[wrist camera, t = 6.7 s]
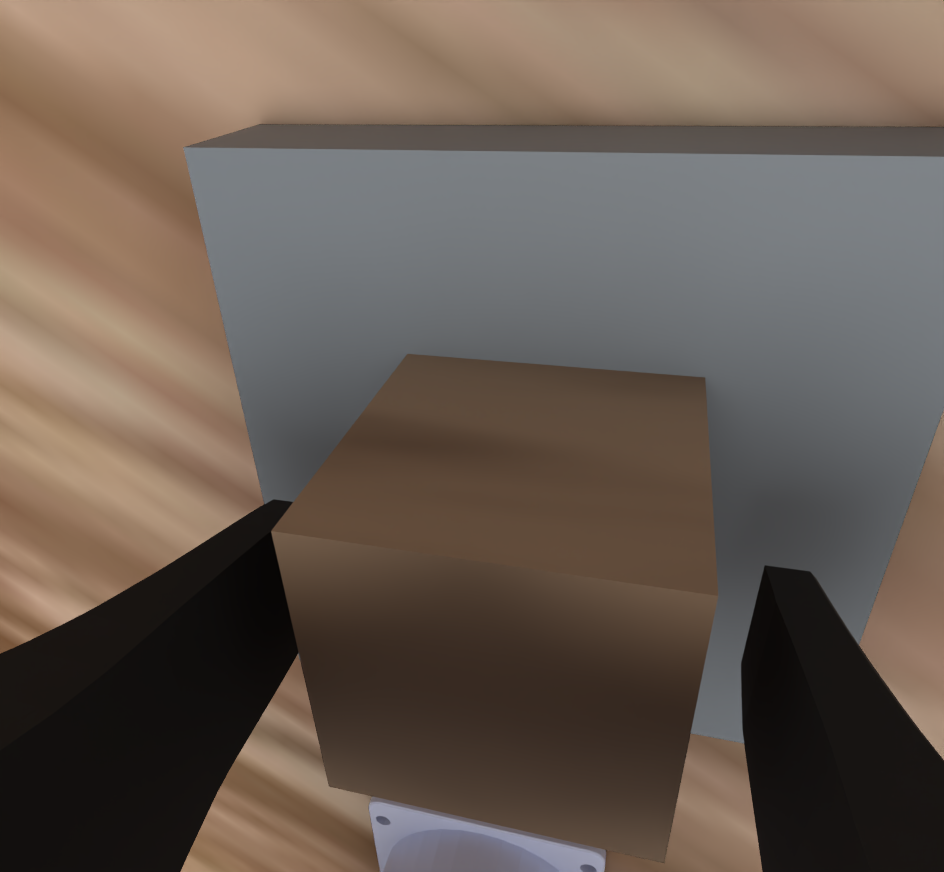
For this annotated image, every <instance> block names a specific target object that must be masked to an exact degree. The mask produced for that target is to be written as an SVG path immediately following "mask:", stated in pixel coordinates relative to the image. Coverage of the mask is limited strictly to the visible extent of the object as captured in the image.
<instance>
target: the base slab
mask: <svg viewBox="0 0 944 872" xmlns="http://www.w3.org/2000/svg"><path fill="white" fill-rule="evenodd" d="M183 148H184V152H185V156H186V161H187V165H188V170H189V174H190V179H191V183H192V187H193V192H194V196H195V201H196V205H197V209H198V214H199V218H200V223H201V227H202V231H203V236H204V240H205V245H206V249H207V253H208V258H209V262H210V267H211V271H212V276H213V280H214V284H215V289H216V293H217V298H218V302H219V306H220V311H221V315H222V320H223V324H224V328H225V333H226V337H227V342H228V346H229V350H230V355H231V359H232V364H233V368H234V372H235V377H236V381H237V386H238V390H239V395H240V399H241V403H242V408H243V412H244V417H245V421H246V425H247V430H248V434H249V439H250V443H251V447H252V452H253V456H254V461H255V465H256V469H257V474H258V478H259V483H260V487H261V492H262V496H263V500H264V504H266V503H268V502H270V501H271V500H273V499H275V500H283V501H290V502H294V501H295V499H296V498H297V497H298V495H299V494H300V493H301V492H302V490H303V489H304V488H305V486H306V485H307V484H308V482H309V481H310V480H311V479H312V477H313V476H314V475H315V473H316V472H317V471H318V469H319V468H320V467H321V466H322V464H323V463H324V462H325V460H326V459H327V458H328V456H329V455H330V454H331V453H332V451H333V450H334V449H335V447H336V446H337V445H338V443H339V442H340V441H341V440H342V438H343V437H344V436H345V434H346V433H347V432H348V430H349V429H350V428H351V427H352V425H353V424H354V423H355V421H356V420H357V419H358V417H359V416H360V415H361V414H362V412H363V411H364V410H365V408H366V407H367V406H368V404H369V403H370V402H371V401H372V399H373V398H374V397H375V395H376V394H377V393H378V391H379V390H380V389H381V388H382V386H383V385H384V384H385V382H386V381H387V380H388V378H389V377H390V376H391V375H392V373H393V372H394V371H395V369H396V368H397V367H398V365H399V364H400V363H401V362H402V360H403V359H404V358H405V356H406V355H407V354H416V355H428V356H441V357H454V358H466V359H479V360H491V361H504V362H517V363H529V364H542V365H554V366H567V367H580V368H592V369H605V370H617V371H630V372H643V373H655V374H668V375H680V376H693V377H705V383H706V399H707V416H708V432H709V449H710V466H711V482H712V499H713V516H714V532H715V549H716V565H717V582H718V600H717V605H716V610H715V615H714V620H713V625H712V630H711V635H710V640H709V645H708V650H707V654H706V659H705V664H704V669H703V674H702V679H701V684H700V689H699V694H698V699H697V704H696V709H695V714H694V719H693V724H692V729H691V733H692V734H697V735H702V736H708V737H713V738H718V739H724V740H729V741H734V742H740V743H744V737H743V730H742V698H741V661H742V657H743V653H744V648H745V644H746V640H747V636H748V632H749V628H750V624H751V619H752V615H753V611H754V607H755V603H756V599H757V595H758V591H759V586H760V582H761V578H762V574H763V570H764V566H765V565H767V566H774V567H782V568H789V569H797V570H804V571H810V572H811V573H812V574H813V575H814V576H815V578H816V579H817V580H818V582H819V584H820V585H821V587H822V589H823V590H824V592H825V593H826V595H827V597H828V598H829V600H830V601H831V603H832V605H833V606H834V608H835V609H836V611H837V613H838V614H839V616H840V617H841V619H842V620H843V622H844V624H845V625H846V627H847V628H848V630H849V631H850V633H851V634H852V636H853V637H854V639H855V640H856V642H857V643H858V645H859V643H860V640H861V637H862V635H863V632H864V629H865V626H866V624H867V621H868V618H869V615H870V612H871V610H872V607H873V604H874V601H875V599H876V596H877V593H878V590H879V587H880V585H881V582H882V579H883V576H884V574H885V571H886V568H887V565H888V563H889V560H890V557H891V554H892V551H893V549H894V546H895V543H896V540H897V538H898V535H899V532H900V529H901V526H902V524H903V521H904V518H905V515H906V513H907V510H908V507H909V504H910V501H911V499H912V496H913V493H914V490H915V488H916V485H917V482H918V479H919V477H920V474H921V471H922V468H923V465H924V463H925V460H926V457H927V454H928V452H929V449H930V446H931V443H932V440H933V438H934V435H935V432H936V429H937V427H938V424H939V421H940V418H941V415H942V413H943V410H944V127H786V126H529V125H271V124H259V125H256V126H253V127H249V128H246V129H243V130H239V131H236V132H233V133H229V134H226V135H223V136H220V137H216V138H213V139H210V140H206V141H203V142H200V143H196V144H193V145H190V146H187V147H183ZM298 655H299V653H298ZM299 659H300V656H299Z"/></svg>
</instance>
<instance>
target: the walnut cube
mask: <svg viewBox="0 0 944 872" xmlns="http://www.w3.org/2000/svg"><path fill="white" fill-rule="evenodd" d="M271 533H272V537H273V542H274V546H275V551H276V555H277V559H278V564H279V568H280V573H281V577H282V581H283V586H284V590H285V595H286V599H287V604H288V608H289V612H290V617H291V621H292V626H293V630H294V634H295V639H296V643H297V648H298V652H299V656H300V661H301V665H302V670H303V674H304V678H305V683H306V687H307V692H308V696H309V700H310V705H311V709H312V714H313V718H314V722H315V727H316V731H317V736H318V740H319V744H320V749H321V753H322V758H323V762H324V767H325V771H326V775H327V780H328V784H329V786H330V787H334V788H338V789H343V790H347V791H351V792H356V793H360V794H364V795H369V796H373V797H378V798H382V799H386V800H391V801H395V802H399V803H404V804H408V805H412V806H417V807H421V808H425V809H430V810H434V811H439V812H443V813H447V814H452V815H456V816H460V817H465V818H469V819H473V820H478V821H482V822H486V823H491V824H495V825H500V826H504V827H508V828H513V829H517V830H521V831H526V832H530V833H534V834H539V835H543V836H547V837H552V838H556V839H561V840H565V841H569V842H574V843H578V844H582V845H587V846H591V847H595V848H600V849H604V850H609V851H613V852H617V853H622V854H626V855H630V856H635V857H639V858H643V859H648V860H652V861H656V862H661V863H664V862H665V857H666V852H667V847H668V842H669V837H670V832H671V827H672V822H673V817H674V812H675V808H676V803H677V798H678V793H679V788H680V783H681V778H682V773H683V768H684V763H685V758H686V753H687V748H688V743H689V738H690V733H691V729H692V724H693V719H694V714H695V709H696V704H697V699H698V694H699V689H700V684H701V679H702V674H703V669H704V664H705V659H706V654H707V650H708V645H709V640H710V635H711V630H712V625H713V620H714V615H715V610H716V605H717V600H718V582H717V565H716V549H715V532H714V516H713V499H712V482H711V466H710V449H709V432H708V416H707V399H706V383H705V377H693V376H680V375H668V374H655V373H643V372H630V371H617V370H605V369H592V368H580V367H567V366H554V365H542V364H529V363H517V362H504V361H491V360H479V359H466V358H454V357H441V356H428V355H416V354H407V355H406V356H405V358H404V359H403V360H402V362H401V363H400V364H399V365H398V367H397V368H396V369H395V371H394V372H393V373H392V375H391V376H390V377H389V378H388V380H387V381H386V382H385V384H384V385H383V386H382V388H381V389H380V390H379V391H378V393H377V394H376V395H375V397H374V398H373V399H372V401H371V402H370V403H369V404H368V406H367V407H366V408H365V410H364V411H363V412H362V414H361V415H360V416H359V417H358V419H357V420H356V421H355V423H354V424H353V425H352V427H351V428H350V429H349V430H348V432H347V433H346V434H345V436H344V437H343V438H342V440H341V441H340V442H339V443H338V445H337V446H336V447H335V449H334V450H333V451H332V453H331V454H330V455H329V456H328V458H327V459H326V460H325V462H324V463H323V464H322V466H321V467H320V468H319V469H318V471H317V472H316V473H315V475H314V476H313V477H312V479H311V480H310V481H309V482H308V484H307V485H306V486H305V488H304V489H303V490H302V492H301V493H300V494H299V495H298V497H297V498H296V499H295V501H294V502H293V503H292V505H291V506H290V507H289V508H288V510H287V511H286V512H285V514H284V515H283V516H282V518H281V519H280V520H279V521H278V523H277V524H276V525H275V527H274V528H273V529H272V531H271Z"/></svg>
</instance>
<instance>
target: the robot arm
mask: <svg viewBox="0 0 944 872" xmlns="http://www.w3.org/2000/svg"><path fill="white" fill-rule="evenodd" d="M292 503H293V502H290V501H283V500H275V499H273V500H271V501H270V502H268V503H266V504H264V505H263V506H261V507H259V508H257V509H256V510H254V511H253V512H251V513H249V514H248V515H246V516H245V517H243V518H241V519H240V520H238V521H237V522H235V523H233V524H232V525H230V526H229V527H227V528H226V529H224V530H223V531H221V532H219V533H218V534H216V535H215V536H213V537H212V538H210V539H209V540H207V541H205V542H204V543H202V544H201V545H199V546H197V547H196V548H194V549H193V550H191V551H190V552H188V553H186V554H185V555H183V556H182V557H180V558H178V559H177V560H175V561H174V562H172V563H170V564H169V565H167V566H166V567H164V568H162V569H161V570H159V571H157V572H156V573H154V574H152V575H151V576H149V577H147V578H145V579H144V580H142V581H140V582H139V583H137V584H135V585H133V586H132V587H130V588H128V589H126V590H125V591H123V592H121V593H120V594H118V595H116V596H114V597H113V598H111V599H109V600H108V601H106V602H104V603H102V604H101V605H99V606H97V607H95V608H93V609H91V610H90V611H88V612H86V613H84V614H82V615H80V616H78V617H76V618H74V619H72V620H70V621H69V622H67V623H65V624H63V625H61V626H59V627H56V628H54V629H52V630H50V631H48V632H46V633H44V634H42V635H40V636H38V637H36V638H34V639H32V640H30V641H28V642H26V643H23V644H21V645H19V646H17V647H15V648H13V649H10V650H8V651H5V652H3V653H1V654H0V872H180V871H181V869H182V867H183V865H184V862H185V860H186V858H187V856H188V853H189V851H190V849H191V847H192V845H193V843H194V841H195V838H196V836H197V834H198V832H199V830H200V828H201V826H202V824H203V821H204V819H205V817H206V815H207V813H208V811H209V809H210V807H211V804H212V802H213V800H214V798H215V796H216V794H217V792H218V790H219V788H220V786H221V785H222V783H223V781H224V779H225V777H226V775H227V773H228V772H229V770H230V768H231V766H232V764H233V763H234V761H235V759H236V758H237V756H238V754H239V753H240V751H241V749H242V748H243V746H244V744H245V743H246V741H247V739H248V738H249V736H250V734H251V733H252V731H253V729H254V727H255V726H256V724H257V722H258V721H259V719H260V717H261V716H262V714H263V712H264V711H265V709H266V707H267V706H268V704H269V702H270V701H271V699H272V697H273V696H274V694H275V692H276V691H277V689H278V687H279V685H280V684H281V682H282V680H283V679H284V677H285V675H286V673H287V672H288V670H289V668H290V667H291V665H292V663H293V661H294V660H295V658H296V656H297V654H298V653H299V652H298V648H297V643H296V639H295V634H294V630H293V626H292V621H291V617H290V612H289V608H288V604H287V599H286V595H285V590H284V586H283V581H282V577H281V573H280V568H279V564H278V559H277V555H276V551H275V546H274V542H273V537H272V533H271V531H272V529H273V528H274V527H275V525H276V524H277V523H278V521H279V520H280V519H281V518H282V516H283V515H284V514H285V512H286V511H287V510H288V508H289V507H290V506H291V505H292ZM741 698H742V730H743V737H744V745H745V752H746V759H747V766H748V773H749V781H750V788H751V794H752V801H753V808H754V815H755V822H756V829H757V836H758V843H759V850H760V856H761V863H762V870H763V872H944V760H943V759H942V757H941V756H940V755H939V754H938V752H937V751H936V750H935V749H934V747H933V746H932V745H931V744H930V742H929V741H928V740H927V739H926V737H925V736H924V735H923V734H922V732H921V731H920V730H919V728H918V727H917V726H916V724H915V723H914V722H913V720H912V719H911V718H910V716H909V715H908V714H907V713H906V711H905V710H904V709H903V707H902V706H901V704H900V703H899V702H898V700H897V699H896V697H895V696H894V695H893V693H892V692H891V691H890V689H889V688H888V686H887V685H886V684H885V682H884V681H883V679H882V678H881V677H880V675H879V674H878V672H877V671H876V670H875V668H874V667H873V665H872V664H871V663H870V661H869V660H868V658H867V657H866V655H865V654H864V652H863V651H862V649H861V648H860V646H859V645H858V643H857V642H856V640H855V639H854V637H853V636H852V634H851V633H850V631H849V630H848V628H847V627H846V625H845V624H844V622H843V620H842V619H841V617H840V616H839V614H838V613H837V611H836V609H835V608H834V606H833V605H832V603H831V601H830V600H829V598H828V597H827V595H826V593H825V592H824V590H823V589H822V587H821V585H820V584H819V582H818V580H817V579H816V578H815V576H814V575H813V574H812V573H811V572H810V571H804V570H797V569H789V568H782V567H774V566H767V565H765V566H764V570H763V574H762V578H761V582H760V586H759V591H758V595H757V599H756V603H755V607H754V611H753V615H752V619H751V624H750V628H749V632H748V636H747V640H746V644H745V648H744V653H743V657H742V661H741ZM369 813H370V818H371V824H372V829H373V835H374V840H375V846H376V851H377V857H378V862H379V868H380V872H604V869H605V860H606V851H605V850H604V849H600V848H595V847H591V846H587V845H582V844H578V843H574V842H569V841H565V840H561V839H556V838H552V837H547V836H543V835H539V834H534V833H530V832H526V831H521V830H517V829H513V828H508V827H504V826H500V825H495V824H491V823H486V822H482V821H478V820H473V819H469V818H465V817H460V816H456V815H452V814H447V813H443V812H439V811H434V810H430V809H425V808H421V807H417V806H412V805H408V804H404V803H399V802H395V801H391V800H386V799H382V798H378V797H373V796H372V798H371V801H370V803H369Z"/></svg>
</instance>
